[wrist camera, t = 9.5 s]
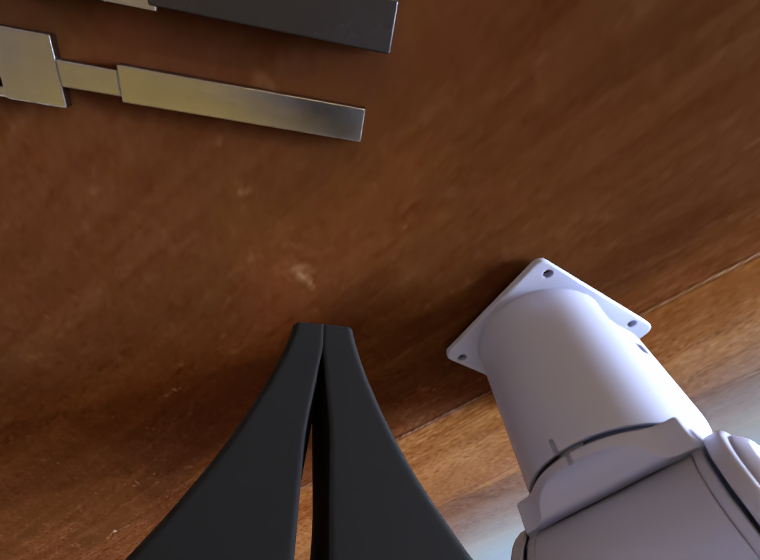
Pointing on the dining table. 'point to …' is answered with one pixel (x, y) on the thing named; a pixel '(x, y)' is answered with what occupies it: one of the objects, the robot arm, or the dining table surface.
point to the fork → (161, 89)
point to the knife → (298, 17)
